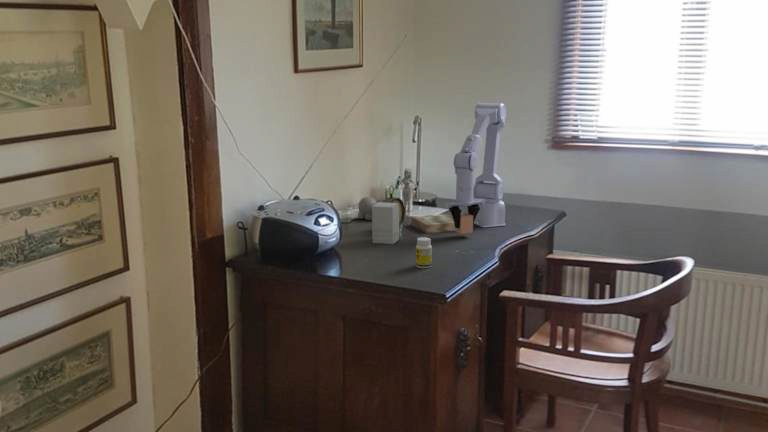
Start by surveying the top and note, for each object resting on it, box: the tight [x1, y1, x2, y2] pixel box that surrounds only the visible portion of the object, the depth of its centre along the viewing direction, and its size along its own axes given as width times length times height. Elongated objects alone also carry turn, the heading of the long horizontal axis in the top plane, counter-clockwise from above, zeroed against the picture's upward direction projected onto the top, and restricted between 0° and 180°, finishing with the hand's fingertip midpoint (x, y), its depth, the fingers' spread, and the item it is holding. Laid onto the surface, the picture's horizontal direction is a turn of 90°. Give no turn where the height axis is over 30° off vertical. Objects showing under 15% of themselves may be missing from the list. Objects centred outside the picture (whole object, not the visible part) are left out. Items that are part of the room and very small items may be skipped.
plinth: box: [410, 213, 456, 234], centre depth 274 cm, size 14×14×3 cm
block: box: [454, 212, 474, 235], centre depth 260 cm, size 4×4×6 cm
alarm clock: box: [382, 185, 406, 229], centre depth 268 cm, size 11×5×16 cm, turn 148°
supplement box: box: [371, 201, 400, 245], centre depth 254 cm, size 7×7×13 cm
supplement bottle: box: [415, 236, 433, 269], centre depth 226 cm, size 5×5×8 cm
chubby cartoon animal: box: [357, 196, 384, 221], centre depth 286 cm, size 7×12×8 cm, turn 60°
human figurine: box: [393, 168, 423, 217], centre depth 293 cm, size 12×4×18 cm, turn 68°
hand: (464, 227), depth 260 cm, fingers closed on block, 4 cm apart
